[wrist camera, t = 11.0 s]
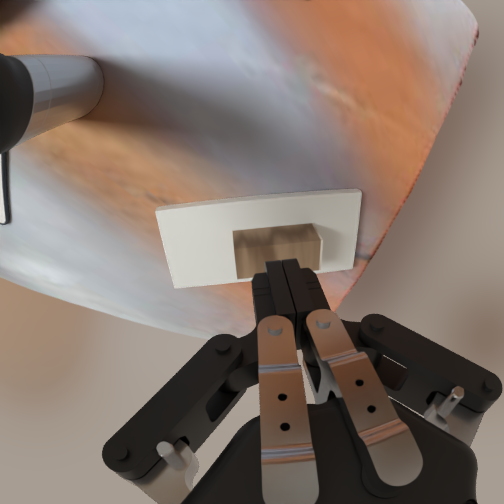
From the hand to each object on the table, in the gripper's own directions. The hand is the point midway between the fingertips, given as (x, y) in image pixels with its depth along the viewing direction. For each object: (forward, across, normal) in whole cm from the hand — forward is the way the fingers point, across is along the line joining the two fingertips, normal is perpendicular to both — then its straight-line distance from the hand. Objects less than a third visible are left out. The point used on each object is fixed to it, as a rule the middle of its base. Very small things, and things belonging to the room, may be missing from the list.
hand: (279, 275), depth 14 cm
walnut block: (+25, +2, +15) cm, 29 cm away
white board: (+29, -2, +15) cm, 33 cm away
